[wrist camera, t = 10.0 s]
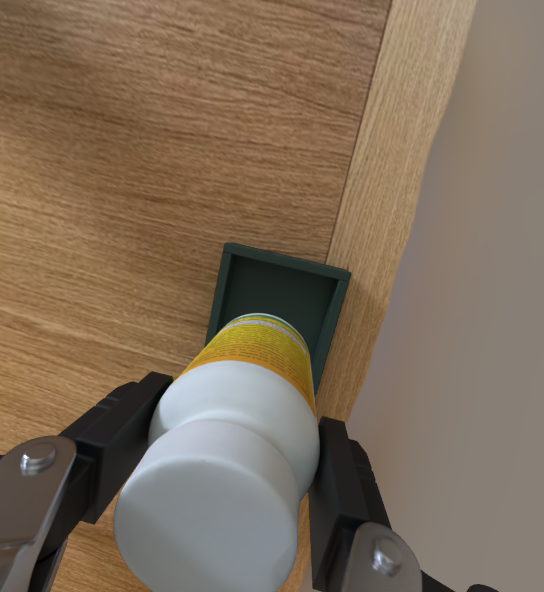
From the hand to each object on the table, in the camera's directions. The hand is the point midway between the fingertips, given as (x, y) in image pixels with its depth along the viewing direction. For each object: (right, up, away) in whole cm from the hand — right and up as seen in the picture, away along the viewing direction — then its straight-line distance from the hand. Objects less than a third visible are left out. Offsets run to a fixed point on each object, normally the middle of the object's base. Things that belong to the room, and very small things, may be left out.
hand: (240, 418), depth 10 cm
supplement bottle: (0, +1, +6) cm, 6 cm away
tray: (0, -3, +18) cm, 18 cm away
